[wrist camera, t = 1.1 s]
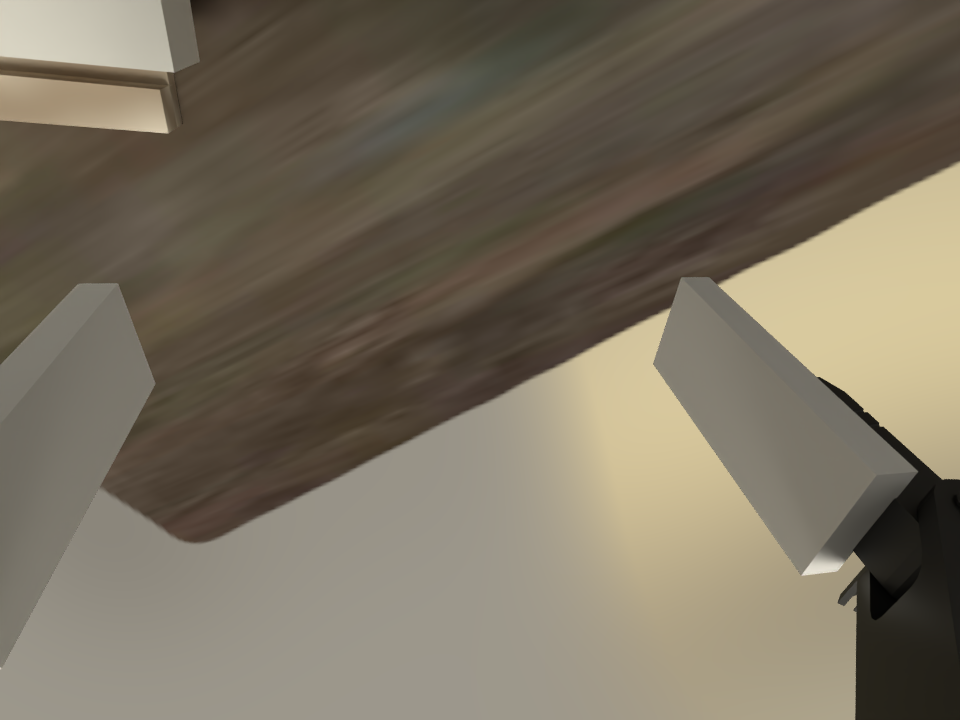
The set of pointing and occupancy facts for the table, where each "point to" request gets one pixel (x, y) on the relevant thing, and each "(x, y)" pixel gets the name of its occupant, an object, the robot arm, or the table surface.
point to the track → (88, 95)
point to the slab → (101, 32)
